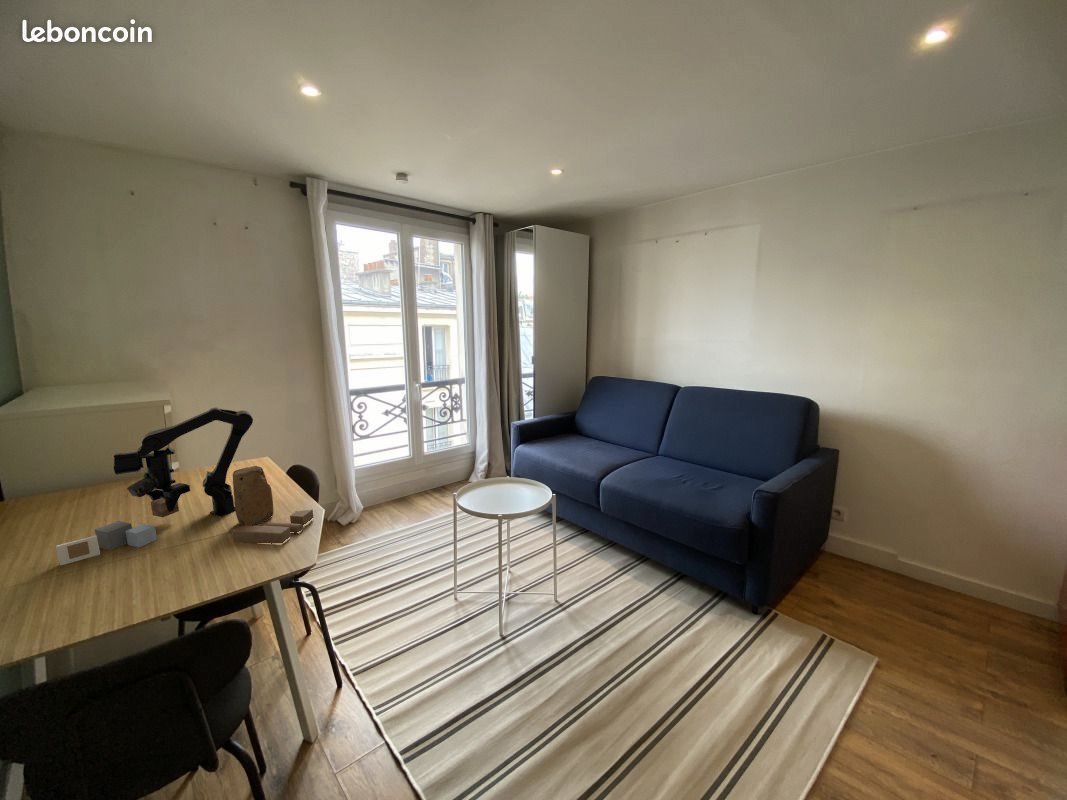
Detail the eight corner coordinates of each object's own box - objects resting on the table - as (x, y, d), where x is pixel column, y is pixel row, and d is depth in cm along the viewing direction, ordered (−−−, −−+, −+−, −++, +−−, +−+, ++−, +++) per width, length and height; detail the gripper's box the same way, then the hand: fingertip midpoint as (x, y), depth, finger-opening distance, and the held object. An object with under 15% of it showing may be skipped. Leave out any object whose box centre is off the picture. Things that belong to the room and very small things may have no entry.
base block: (134, 540, 130) (131, 523, 129) (110, 550, 125) (107, 532, 124) (121, 537, 132) (118, 520, 131) (98, 547, 126) (94, 529, 125)
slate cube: (157, 539, 131) (154, 525, 130) (138, 547, 126) (136, 533, 125) (146, 537, 132) (144, 523, 132) (127, 545, 128) (125, 530, 127)
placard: (60, 564, 117) (56, 545, 116) (100, 553, 123) (96, 535, 122) (60, 566, 116) (55, 547, 115) (100, 554, 122) (96, 536, 121)
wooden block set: (282, 531, 128) (230, 527, 129) (284, 547, 129) (232, 543, 130) (315, 507, 145) (268, 504, 146) (316, 521, 146) (270, 519, 147)
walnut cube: (179, 511, 142) (177, 497, 141) (162, 517, 138) (160, 503, 137) (169, 509, 144) (166, 496, 143) (152, 515, 139) (150, 501, 138)
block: (239, 529, 138) (232, 475, 135) (236, 522, 144) (229, 469, 140) (276, 519, 146) (270, 467, 142) (271, 512, 151) (265, 462, 147)
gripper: (110, 472, 132) (118, 516, 135) (150, 479, 127) (157, 525, 130) (150, 462, 143) (157, 503, 146) (188, 468, 138) (194, 510, 141)
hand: (165, 510), depth 140 cm, fingers closed on walnut cube, 5 cm apart
